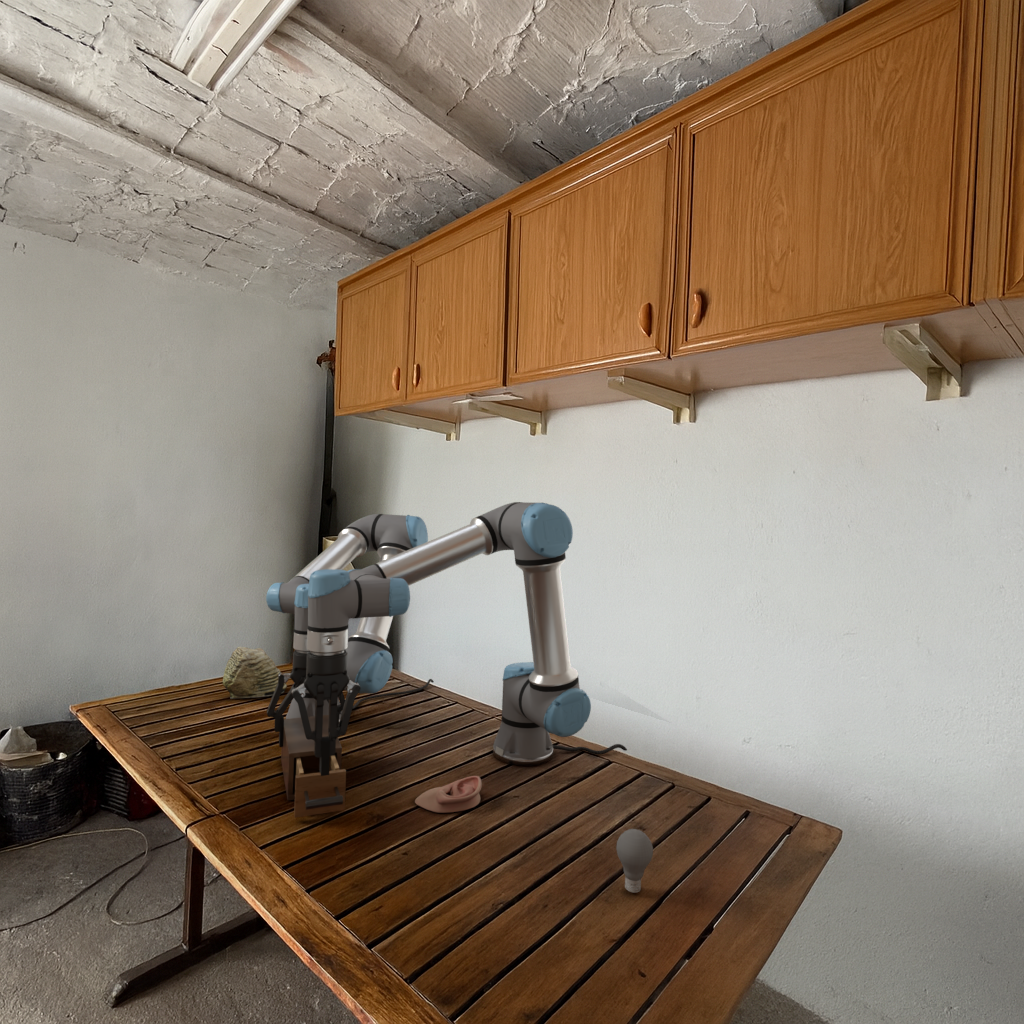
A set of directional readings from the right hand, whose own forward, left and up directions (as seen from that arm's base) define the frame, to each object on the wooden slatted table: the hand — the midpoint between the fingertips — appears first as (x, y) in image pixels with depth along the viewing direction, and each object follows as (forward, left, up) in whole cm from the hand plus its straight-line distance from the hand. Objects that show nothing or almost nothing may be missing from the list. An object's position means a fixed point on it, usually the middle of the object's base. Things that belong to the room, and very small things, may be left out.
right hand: (324, 772), depth 122 cm
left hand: (+2, -31, -6) cm, 31 cm away
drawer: (+1, -10, -9) cm, 13 cm away
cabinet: (+2, -23, -10) cm, 26 cm away
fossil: (+15, -86, -10) cm, 88 cm away
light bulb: (-48, +35, -10) cm, 60 cm away
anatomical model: (-26, -3, -10) cm, 28 cm away
